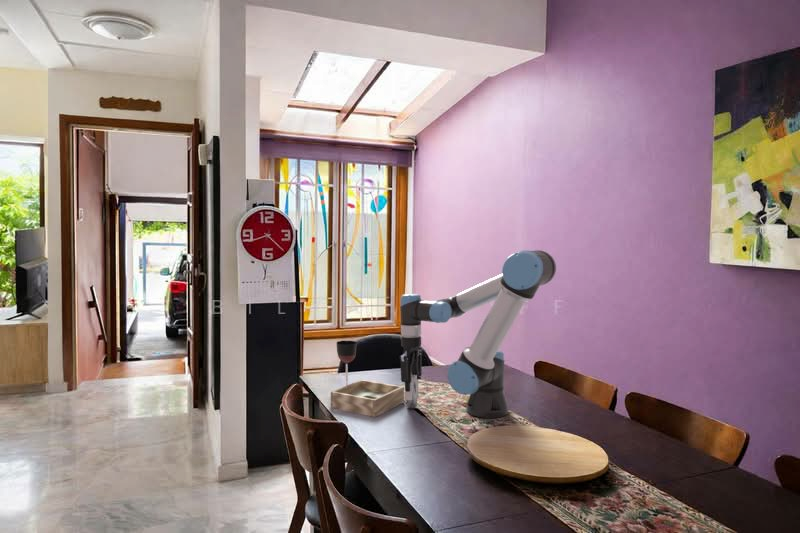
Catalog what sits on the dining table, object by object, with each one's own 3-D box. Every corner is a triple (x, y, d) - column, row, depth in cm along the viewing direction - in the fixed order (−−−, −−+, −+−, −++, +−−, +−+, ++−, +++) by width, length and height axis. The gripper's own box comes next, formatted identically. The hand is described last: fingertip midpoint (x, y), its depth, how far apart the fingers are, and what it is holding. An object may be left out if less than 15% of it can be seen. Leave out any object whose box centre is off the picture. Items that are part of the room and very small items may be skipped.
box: (403, 402, 204) (403, 386, 204) (375, 416, 187) (375, 400, 187) (361, 394, 215) (361, 379, 214) (330, 407, 198) (330, 391, 197)
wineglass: (348, 393, 215) (347, 345, 214) (332, 390, 221) (332, 342, 220) (360, 389, 222) (360, 342, 221) (345, 385, 227) (345, 339, 226)
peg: (419, 406, 197) (418, 374, 197) (413, 409, 194) (413, 376, 194) (409, 404, 199) (409, 373, 199) (404, 407, 196) (404, 375, 196)
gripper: (413, 331, 205) (414, 391, 206) (390, 338, 190) (391, 402, 191) (430, 333, 201) (431, 393, 202) (408, 340, 186) (409, 405, 187)
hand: (411, 397), depth 197 cm, fingers closed on peg, 4 cm apart
